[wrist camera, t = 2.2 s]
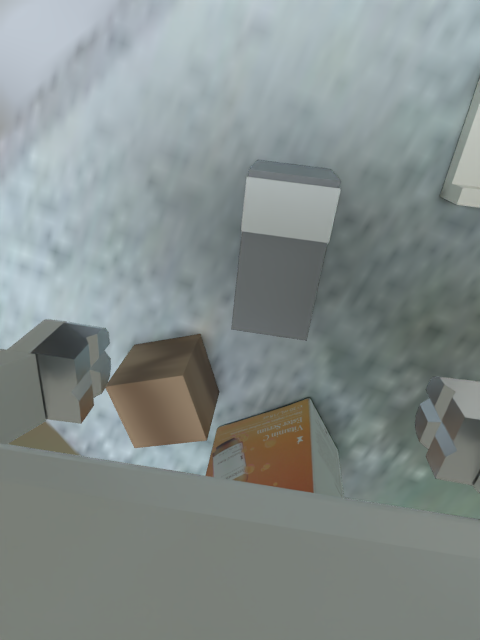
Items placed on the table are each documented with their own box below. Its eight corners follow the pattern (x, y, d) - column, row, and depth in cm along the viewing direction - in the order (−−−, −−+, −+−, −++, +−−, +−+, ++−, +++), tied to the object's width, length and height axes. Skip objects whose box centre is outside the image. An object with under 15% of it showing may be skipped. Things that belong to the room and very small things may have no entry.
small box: (310, 394, 28) (321, 532, 18) (339, 448, 30) (361, 597, 20) (214, 426, 30) (181, 561, 21) (246, 474, 32) (229, 617, 23)
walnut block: (200, 333, 27) (182, 375, 22) (219, 391, 29) (206, 440, 24) (134, 344, 28) (105, 386, 23) (157, 399, 30) (134, 448, 25)
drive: (331, 169, 21) (342, 181, 16) (304, 301, 25) (307, 341, 20) (256, 159, 21) (247, 169, 17) (241, 292, 25) (230, 330, 20)
